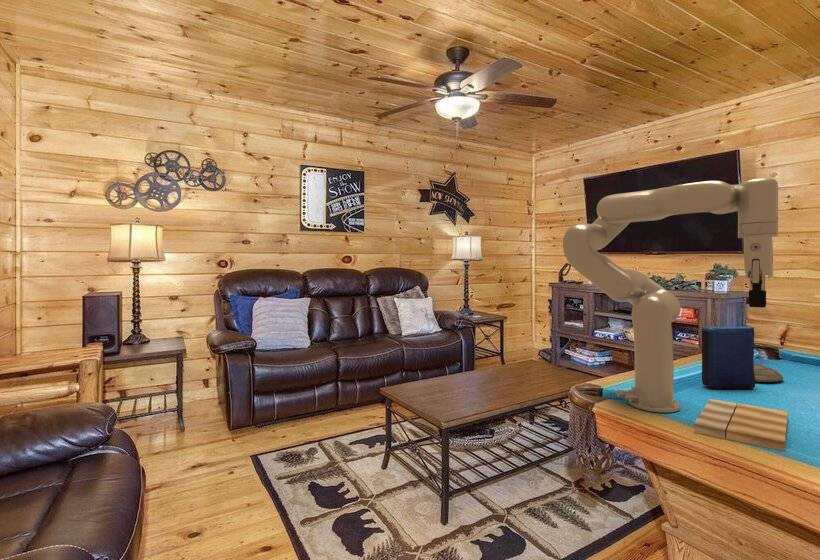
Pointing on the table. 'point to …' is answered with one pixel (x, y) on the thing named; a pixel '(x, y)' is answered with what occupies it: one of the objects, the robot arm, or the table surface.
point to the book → (728, 356)
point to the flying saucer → (766, 374)
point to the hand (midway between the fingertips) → (757, 306)
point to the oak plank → (758, 426)
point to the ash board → (715, 418)
